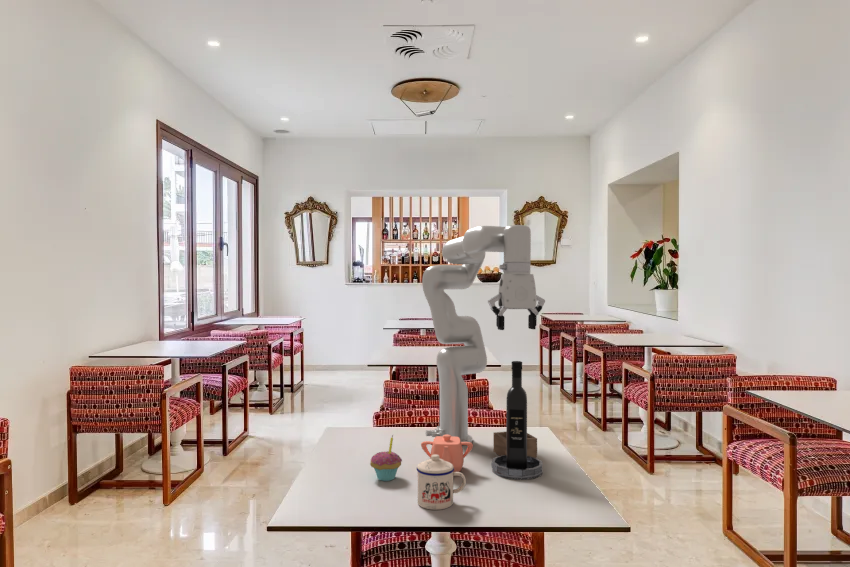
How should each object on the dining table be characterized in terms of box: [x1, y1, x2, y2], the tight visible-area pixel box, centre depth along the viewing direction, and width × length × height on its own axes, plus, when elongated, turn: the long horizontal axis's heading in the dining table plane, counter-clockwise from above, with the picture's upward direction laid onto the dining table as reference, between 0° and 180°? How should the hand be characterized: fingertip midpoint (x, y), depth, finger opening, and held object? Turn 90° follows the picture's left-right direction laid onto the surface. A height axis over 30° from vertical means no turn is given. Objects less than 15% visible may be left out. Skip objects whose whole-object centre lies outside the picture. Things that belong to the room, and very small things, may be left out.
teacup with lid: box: [416, 454, 467, 511], centre depth 139 cm, size 12×9×12 cm
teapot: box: [420, 434, 474, 472], centre depth 163 cm, size 14×12×10 cm
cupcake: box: [369, 434, 403, 482], centre depth 157 cm, size 9×8×12 cm
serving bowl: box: [491, 455, 543, 480], centre depth 163 cm, size 14×14×3 cm
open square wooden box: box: [493, 431, 538, 458], centre depth 178 cm, size 10×10×6 cm
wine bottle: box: [505, 360, 528, 469], centre depth 163 cm, size 6×6×30 cm
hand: (516, 329), depth 163 cm, fingers open, 9 cm apart
